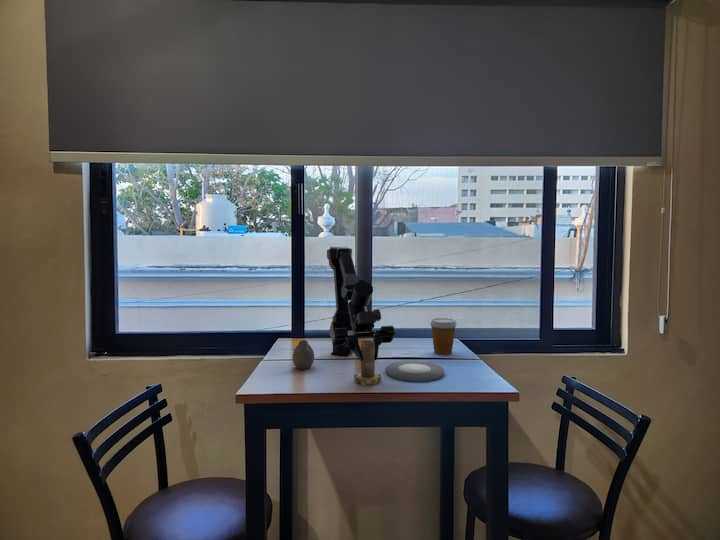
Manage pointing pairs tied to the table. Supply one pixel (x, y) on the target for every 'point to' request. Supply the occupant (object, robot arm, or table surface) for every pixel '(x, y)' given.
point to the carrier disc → (415, 371)
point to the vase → (303, 355)
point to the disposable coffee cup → (443, 335)
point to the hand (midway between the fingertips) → (369, 360)
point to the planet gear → (367, 365)
